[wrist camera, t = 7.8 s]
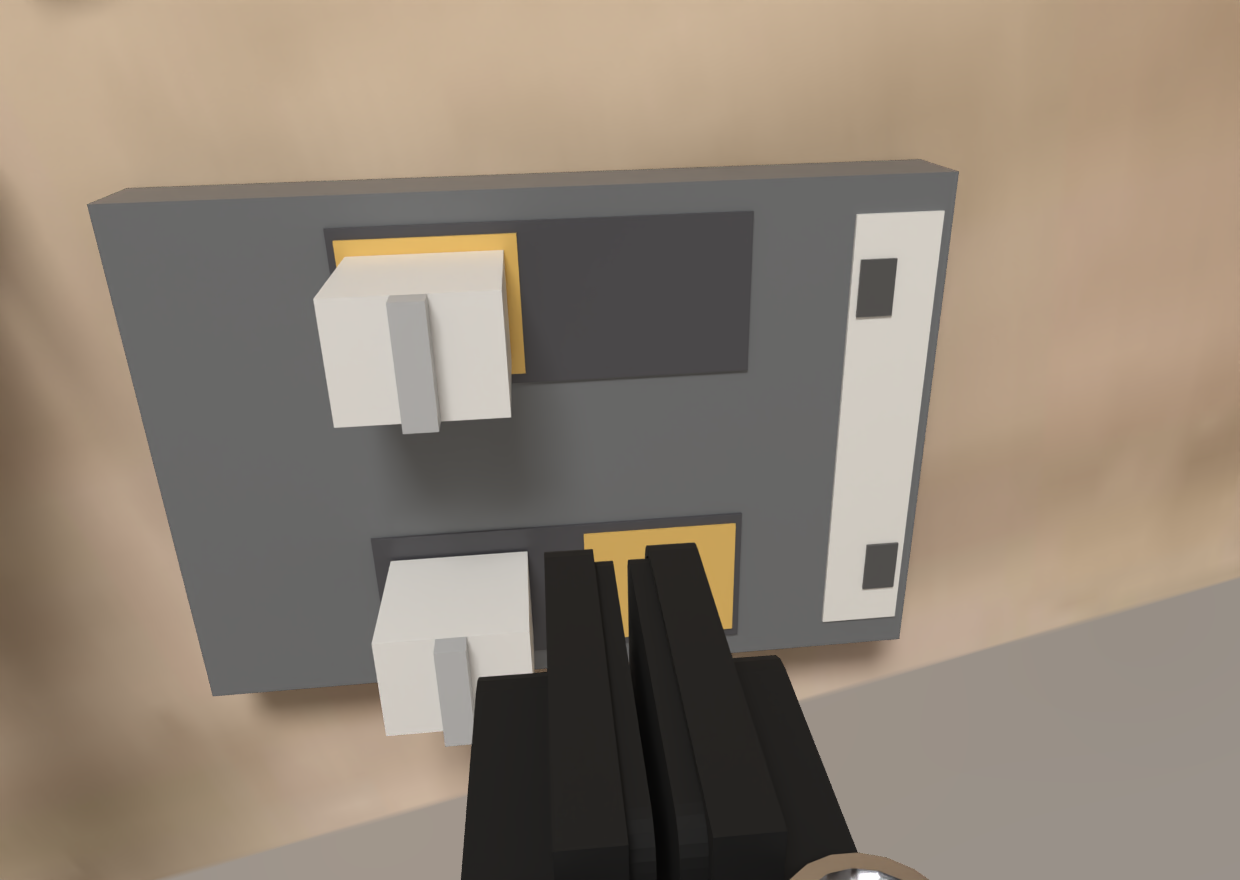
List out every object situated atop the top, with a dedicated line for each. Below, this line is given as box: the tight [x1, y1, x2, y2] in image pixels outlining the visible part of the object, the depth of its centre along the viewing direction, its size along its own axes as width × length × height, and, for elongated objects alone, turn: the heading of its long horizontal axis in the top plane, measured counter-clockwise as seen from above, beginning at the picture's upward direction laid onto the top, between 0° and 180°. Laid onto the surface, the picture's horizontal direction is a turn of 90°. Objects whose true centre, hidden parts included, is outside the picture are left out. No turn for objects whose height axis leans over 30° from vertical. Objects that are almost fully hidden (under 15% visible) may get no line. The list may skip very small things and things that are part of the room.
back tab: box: [372, 551, 535, 747], centre depth 26 cm, size 4×3×5 cm
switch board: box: [87, 159, 959, 696], centre depth 27 cm, size 22×15×3 cm
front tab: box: [313, 250, 512, 434], centre depth 22 cm, size 4×3×5 cm
